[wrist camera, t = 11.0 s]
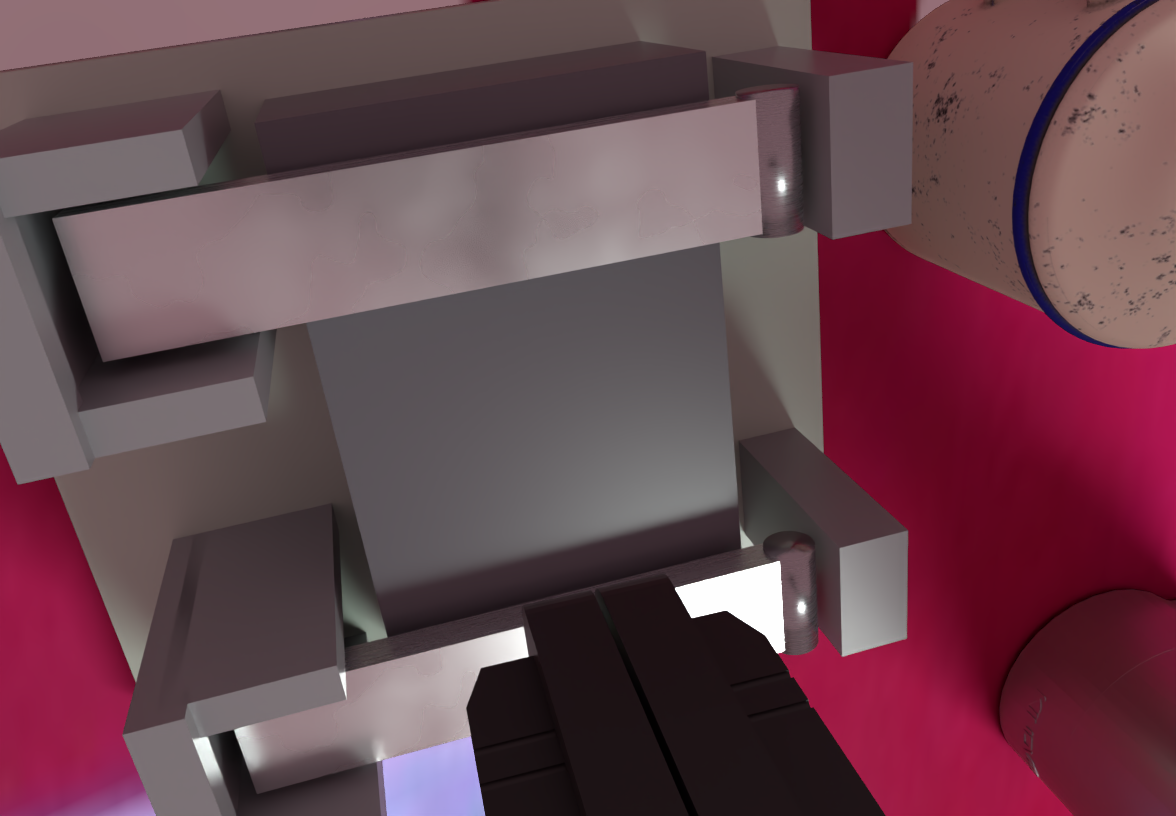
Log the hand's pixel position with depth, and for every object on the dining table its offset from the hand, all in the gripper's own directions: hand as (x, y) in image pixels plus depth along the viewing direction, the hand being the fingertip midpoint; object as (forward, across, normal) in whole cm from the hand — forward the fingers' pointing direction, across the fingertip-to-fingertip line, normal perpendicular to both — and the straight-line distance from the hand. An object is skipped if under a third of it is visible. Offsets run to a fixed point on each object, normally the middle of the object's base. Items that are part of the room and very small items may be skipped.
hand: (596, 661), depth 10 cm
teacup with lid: (+21, -17, -2) cm, 28 cm away
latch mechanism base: (+21, 0, +4) cm, 21 cm away
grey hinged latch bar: (+15, -1, +10) cm, 18 cm away
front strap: (+15, 0, -2) cm, 15 cm away
